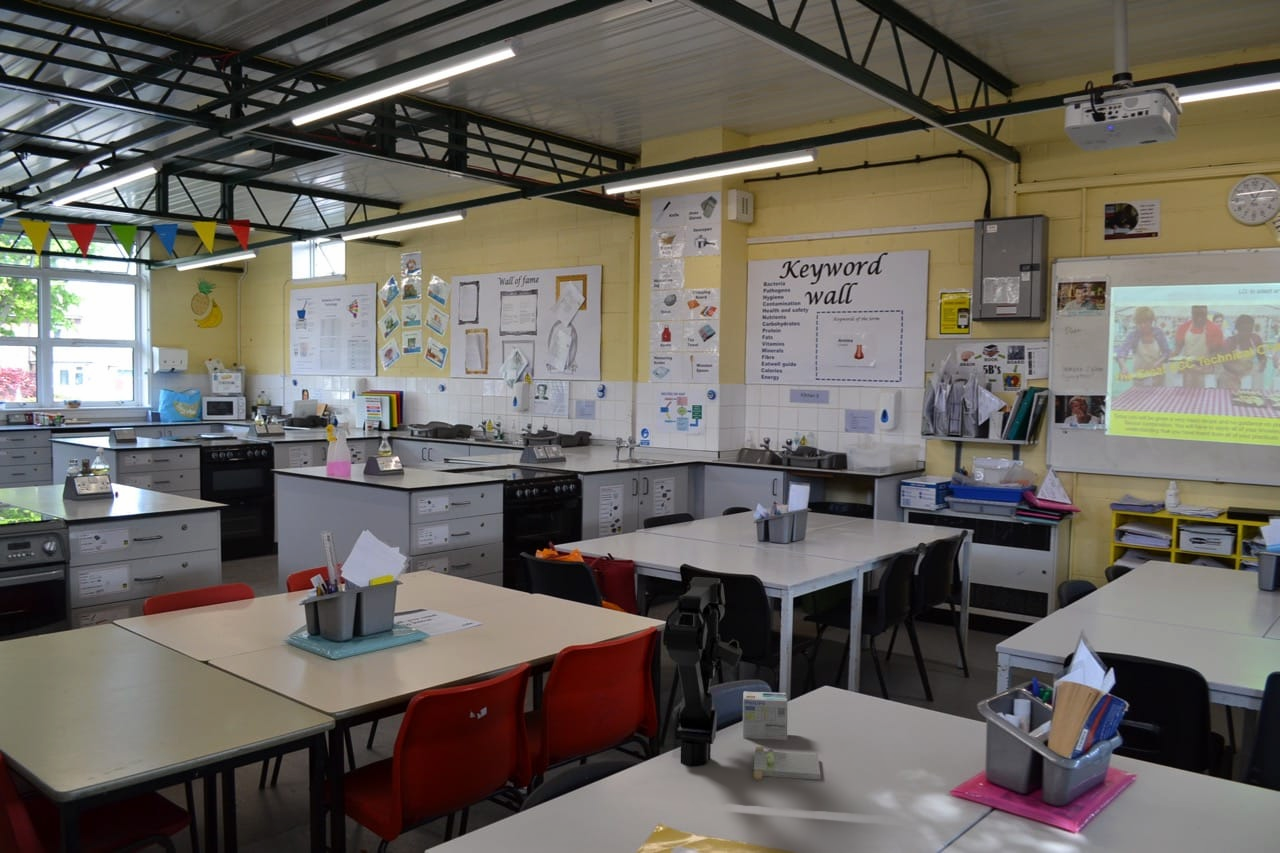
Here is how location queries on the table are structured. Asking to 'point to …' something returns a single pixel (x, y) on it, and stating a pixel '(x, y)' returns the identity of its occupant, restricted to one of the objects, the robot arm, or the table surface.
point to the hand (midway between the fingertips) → (704, 698)
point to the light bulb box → (765, 715)
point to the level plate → (787, 764)
